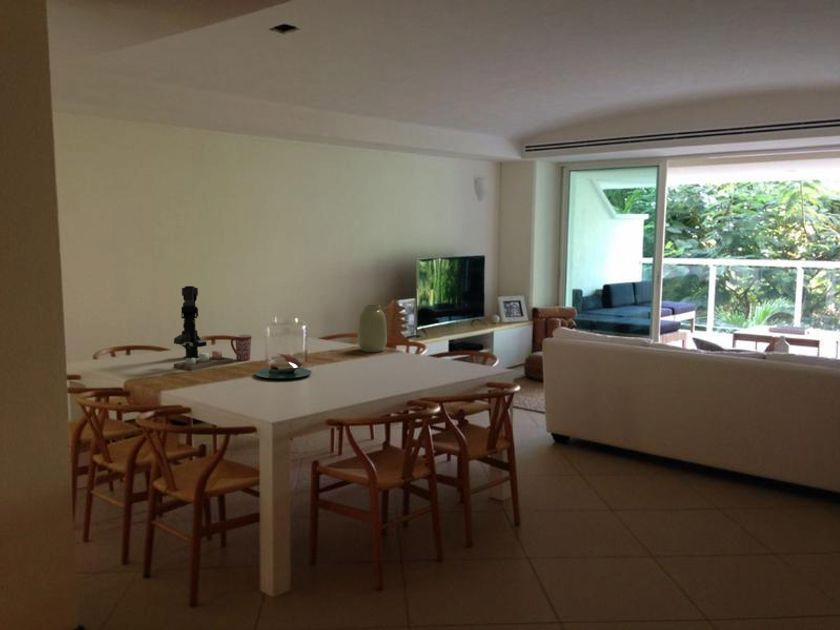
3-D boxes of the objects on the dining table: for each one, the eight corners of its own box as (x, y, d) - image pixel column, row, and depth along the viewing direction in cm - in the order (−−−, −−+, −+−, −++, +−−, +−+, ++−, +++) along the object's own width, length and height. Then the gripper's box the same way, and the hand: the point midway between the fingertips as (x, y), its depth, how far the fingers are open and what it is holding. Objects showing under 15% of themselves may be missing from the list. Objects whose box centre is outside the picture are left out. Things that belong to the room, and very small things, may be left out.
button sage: (183, 366, 381) (183, 358, 380) (191, 364, 385) (191, 357, 385) (190, 367, 378) (189, 359, 378) (197, 366, 382) (197, 358, 382)
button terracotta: (210, 358, 396) (210, 351, 395) (217, 357, 400) (217, 350, 400) (216, 359, 393) (216, 352, 393) (223, 358, 397) (223, 351, 397)
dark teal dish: (312, 381, 354) (312, 358, 353) (252, 382, 350) (252, 359, 348) (311, 369, 382) (311, 348, 380) (256, 370, 377) (255, 349, 376)
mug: (255, 359, 407) (255, 335, 406) (244, 361, 399) (244, 337, 398) (237, 357, 413) (237, 333, 411) (226, 359, 405) (226, 335, 403)
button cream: (197, 361, 388) (197, 353, 388) (204, 359, 392) (204, 352, 392) (203, 362, 386) (203, 354, 385) (211, 361, 390) (210, 353, 389)
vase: (385, 353, 433) (386, 307, 430) (356, 352, 433) (356, 307, 430) (387, 348, 450) (387, 304, 447) (359, 347, 451) (359, 303, 447)
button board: (173, 367, 381) (173, 363, 381) (215, 359, 405) (215, 355, 405) (192, 370, 374) (192, 366, 374) (233, 362, 397) (233, 358, 397)
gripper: (164, 328, 377) (165, 358, 379) (189, 332, 368) (190, 362, 369) (182, 326, 387) (183, 355, 389) (206, 329, 377) (207, 359, 379)
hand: (190, 358), depth 381 cm, fingers closed
